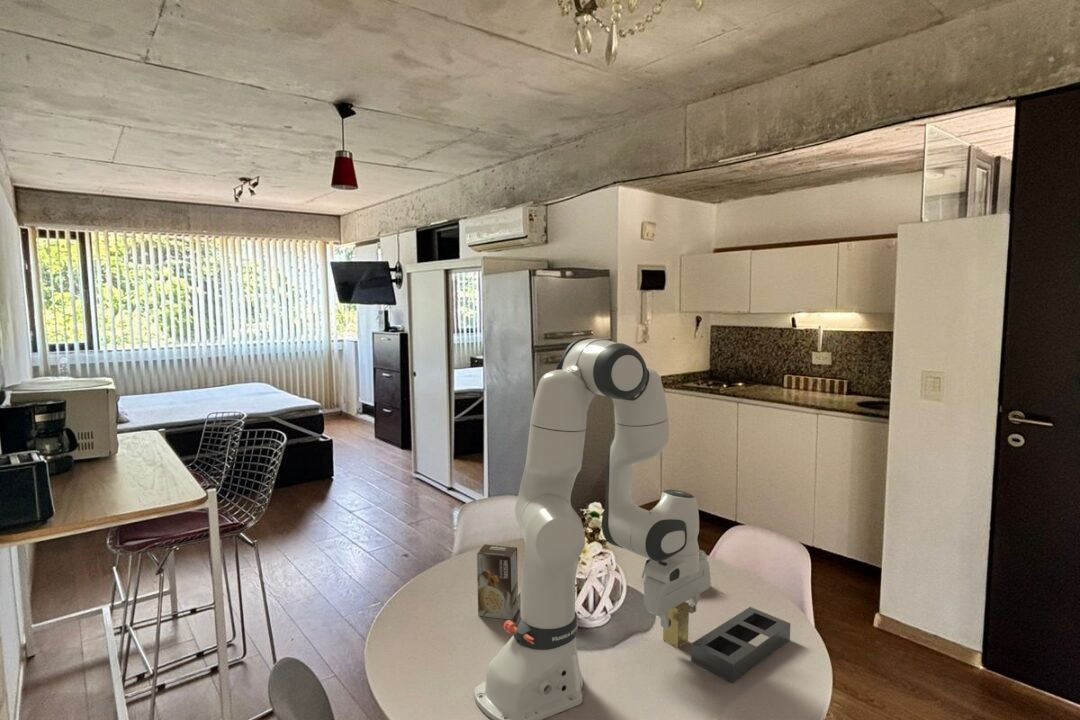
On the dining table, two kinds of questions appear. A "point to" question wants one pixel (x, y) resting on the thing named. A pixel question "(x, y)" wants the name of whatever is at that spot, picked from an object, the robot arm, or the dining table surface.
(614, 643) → the dining table surface
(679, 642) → the brass peg
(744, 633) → the grey peg holder
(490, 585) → the grey food box
